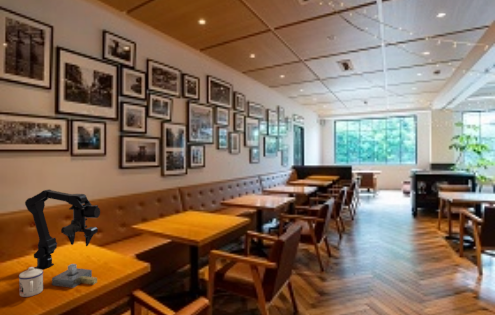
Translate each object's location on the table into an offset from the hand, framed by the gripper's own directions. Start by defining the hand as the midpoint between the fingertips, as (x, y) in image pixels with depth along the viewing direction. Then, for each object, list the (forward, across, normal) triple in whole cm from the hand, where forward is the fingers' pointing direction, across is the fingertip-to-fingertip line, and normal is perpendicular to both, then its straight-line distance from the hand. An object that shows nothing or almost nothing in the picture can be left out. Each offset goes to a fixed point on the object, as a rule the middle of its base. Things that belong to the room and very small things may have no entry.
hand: (79, 245), depth 159 cm
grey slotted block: (+12, +11, -14) cm, 22 cm away
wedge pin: (+12, +8, -14) cm, 20 cm away
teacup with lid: (+13, 0, -29) cm, 31 cm away
